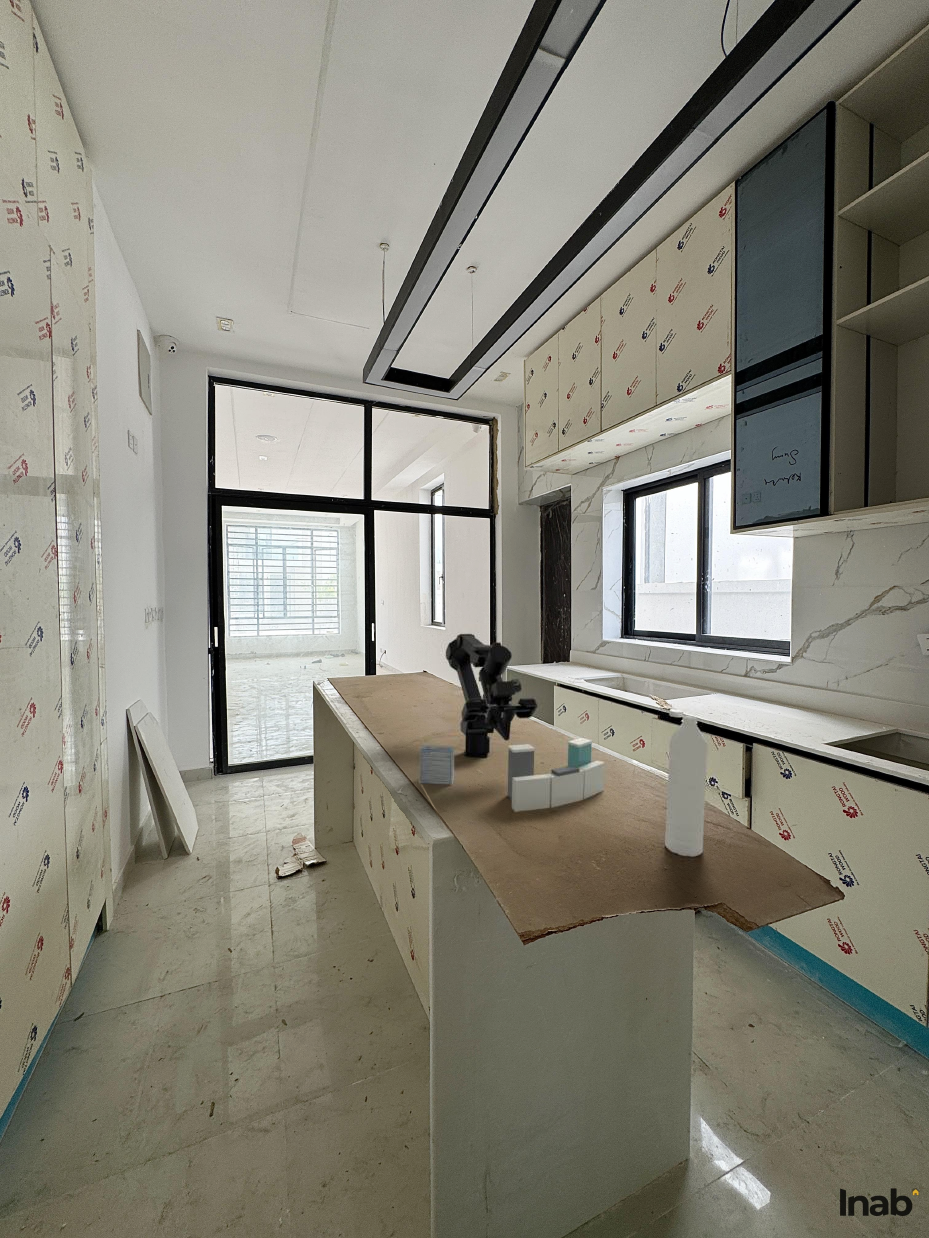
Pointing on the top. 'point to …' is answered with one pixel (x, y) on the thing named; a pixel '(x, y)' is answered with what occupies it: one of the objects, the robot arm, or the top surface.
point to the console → (557, 787)
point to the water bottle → (686, 788)
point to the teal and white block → (579, 752)
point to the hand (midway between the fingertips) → (507, 739)
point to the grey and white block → (519, 763)
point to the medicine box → (437, 764)
